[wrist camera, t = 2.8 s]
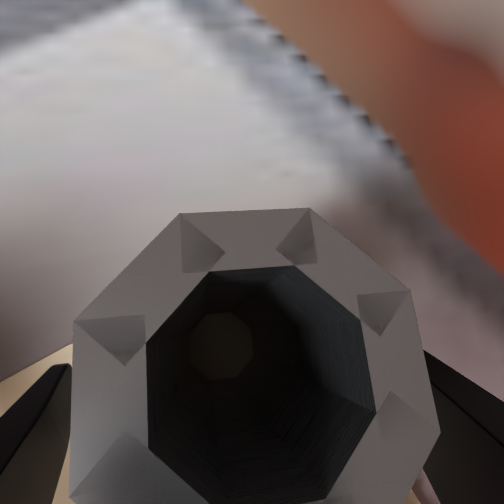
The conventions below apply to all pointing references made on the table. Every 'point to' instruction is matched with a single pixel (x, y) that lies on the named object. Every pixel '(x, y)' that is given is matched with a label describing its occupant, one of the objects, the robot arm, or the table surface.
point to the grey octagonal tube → (251, 372)
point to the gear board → (201, 357)
